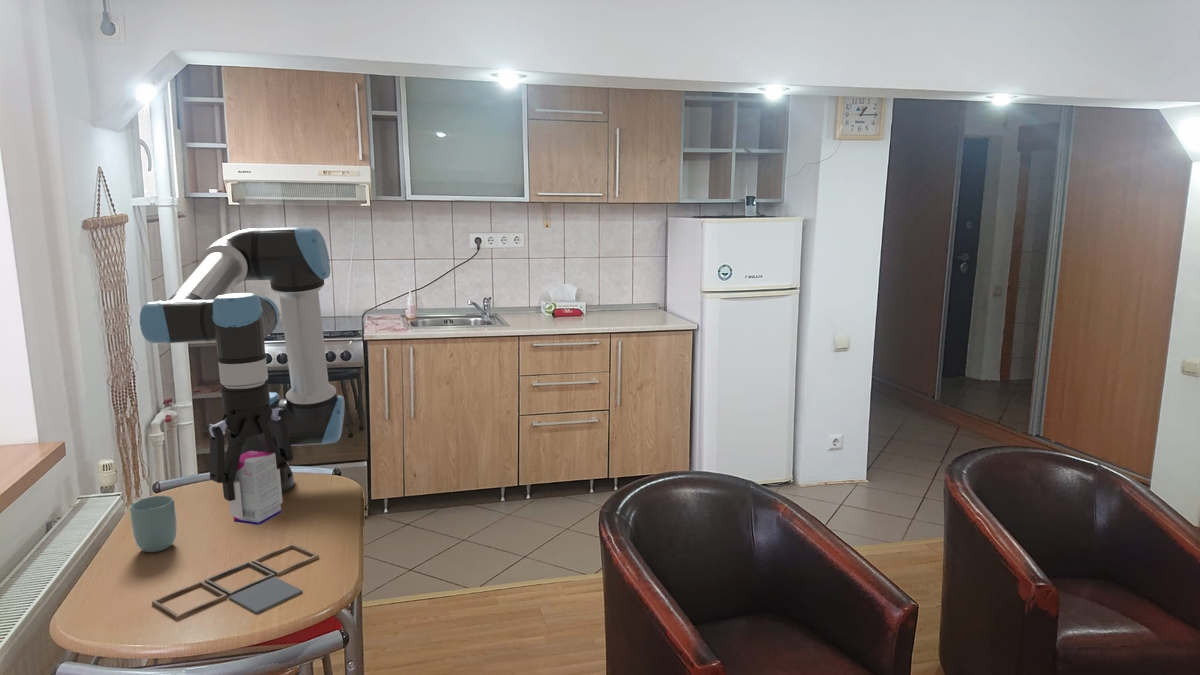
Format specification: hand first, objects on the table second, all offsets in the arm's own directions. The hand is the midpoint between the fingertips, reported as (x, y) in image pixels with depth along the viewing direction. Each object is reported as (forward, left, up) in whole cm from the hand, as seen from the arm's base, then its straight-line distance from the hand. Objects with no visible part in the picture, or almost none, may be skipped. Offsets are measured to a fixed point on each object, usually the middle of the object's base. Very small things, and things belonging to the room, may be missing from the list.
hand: (257, 508), depth 140 cm
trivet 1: (+9, -9, -17) cm, 21 cm away
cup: (+2, -36, -17) cm, 40 cm away
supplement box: (0, 0, -2) cm, 2 cm away
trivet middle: (-1, -9, -17) cm, 19 cm away
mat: (0, 0, -17) cm, 17 cm away
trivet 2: (-10, -9, -17) cm, 22 cm away
